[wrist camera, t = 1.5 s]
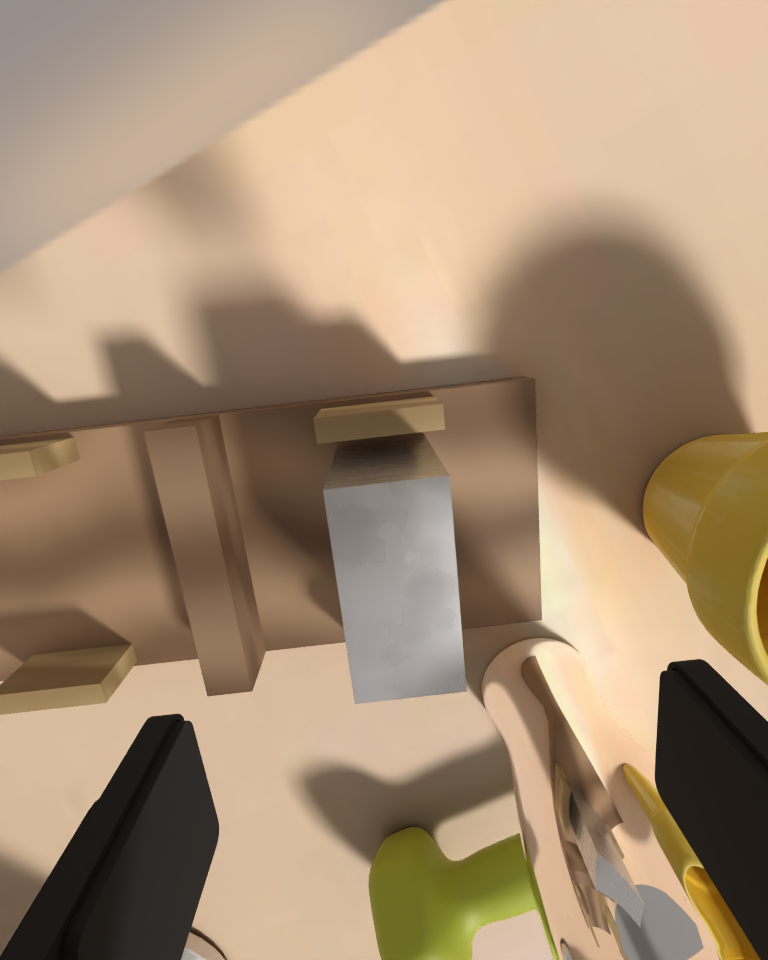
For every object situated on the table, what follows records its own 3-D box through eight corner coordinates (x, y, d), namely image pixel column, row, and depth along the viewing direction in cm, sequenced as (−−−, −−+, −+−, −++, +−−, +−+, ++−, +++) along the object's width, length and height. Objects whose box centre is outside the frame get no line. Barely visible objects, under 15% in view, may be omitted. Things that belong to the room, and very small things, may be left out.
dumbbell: (609, 708, 28) (687, 826, 21) (653, 805, 30) (737, 942, 23) (356, 815, 30) (352, 958, 23) (413, 900, 32) (425, 1055, 25)
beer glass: (460, 648, 27) (564, 1000, 12) (585, 615, 26) (844, 938, 12) (488, 748, 29) (608, 1159, 14) (605, 718, 28) (852, 1108, 14)
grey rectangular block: (439, 595, 24) (466, 691, 18) (359, 604, 24) (355, 704, 18) (425, 436, 22) (449, 475, 15) (337, 446, 22) (323, 489, 15)
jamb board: (532, 604, 26) (564, 655, 22) (-25, 667, 26) (-103, 731, 22) (524, 376, 23) (559, 383, 19) (-109, 449, 23) (-219, 472, 19)
